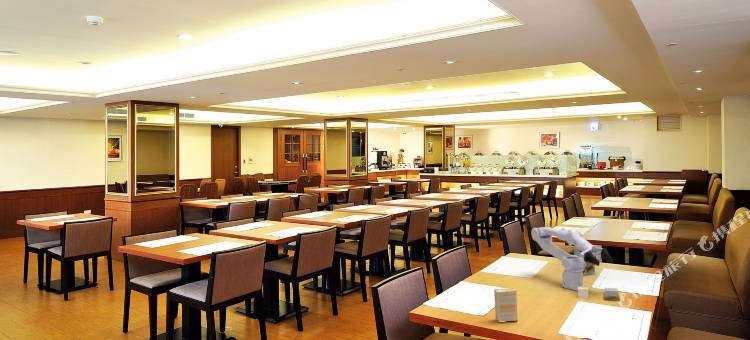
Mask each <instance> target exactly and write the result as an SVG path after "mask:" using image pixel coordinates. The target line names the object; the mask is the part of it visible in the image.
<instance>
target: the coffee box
mask: <svg viewBox="0 0 750 340" xmlns="http://www.w3.org/2000/svg"><path fill="white" fill-rule="evenodd" d="M573 247H574V248H573V251H574V252H573V253H574V254H573V255H575V256H578V257H580V253H581V252H582V251H581V250H579V249H578V248H577V247H576V246H574V245H573ZM589 274H595V275H596V265H594V264H592V263H589V262H586V267H585V268H584V271H583V275H585V276H590V275H589Z"/></svg>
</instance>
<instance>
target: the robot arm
mask: <svg viewBox="0 0 750 340" xmlns="http://www.w3.org/2000/svg"><path fill="white" fill-rule="evenodd" d="M530 234H531V237H532V240H533V241H535V242H537V244H538V245H539V247H540V248H541V250H544V251H546V252H547V253H548V254H550V255H551V256H553V258H556V259H558V260H559V261H561V266H563V268H564V270H563V272H562V275H561V276H562V278H561V279H562V280H561V281H562V286H561V288H563V287H564V288H565V289H568V290H572V291H577V292H578V287H585V286H584V276H583V271H584V268H585V267H586V262H589V263H592V264H594V265H595V266H597V267H599V266H600V263H601V262H600V260H601V259H602V260H604V261H605V262H607V263H608V264H613V260H614V259H613V258H612V257H611V255H610V253H609V252H608V249H607V248H606V247H605V248H604V247H597V245H596V244H595V245H593V244H592V243H591V242H589V241H588V240H587V239H586V238H584V237H583V236H582V233H581V231H578V230H575V231H572V230H571V229H566V228H565V227H562V228H559V229H556V228H554V227H553V228H552V227H551V226H543V227H533V228H532V229H531V233H530ZM553 236H554V237H556V238H557V239H558V240H560V241H564V242H567V244H568V245H570V244H571V245H573V247H574V246H576V247H577V248H578V249H579V250H581V251H582V252H581V253H580V257H578V256H575V255H574V254H570V253H569V252H567V251H565V250H564V249H562V248H560V247H559V246H557V245H556V244H554V243H553ZM599 255H600V260H598V258H596V257H597V256H599Z"/></svg>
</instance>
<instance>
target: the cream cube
mask: <svg viewBox="0 0 750 340" xmlns="http://www.w3.org/2000/svg"><path fill="white" fill-rule="evenodd" d="M577 298H578V299H587V300H588V299H589V287H588V286H584V287H578V291H577Z"/></svg>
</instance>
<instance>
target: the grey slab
mask: <svg viewBox="0 0 750 340" xmlns="http://www.w3.org/2000/svg"><path fill="white" fill-rule="evenodd" d="M604 293H605V296H614V297H619V296H620V295H619V296H618V293H619V289H618V288H617V287H604Z"/></svg>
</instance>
